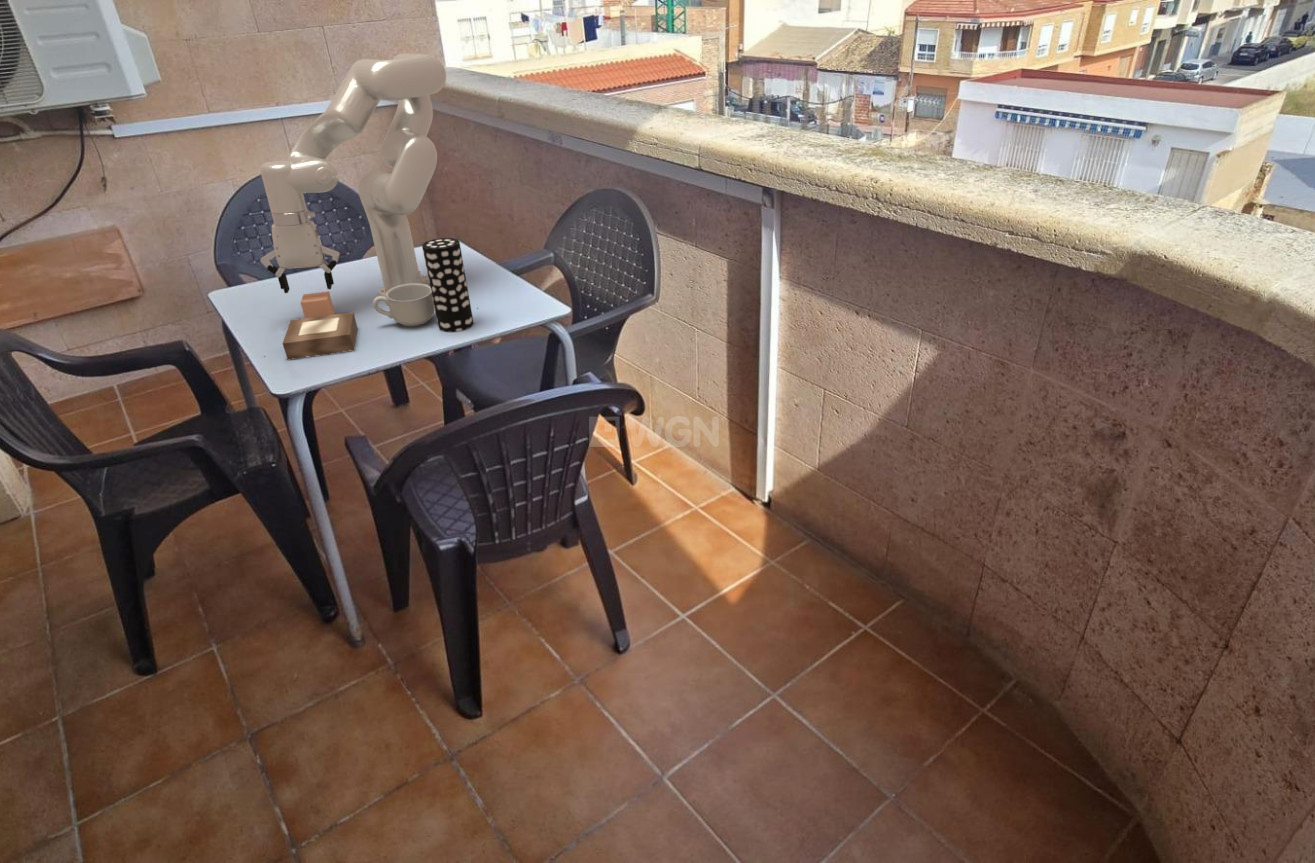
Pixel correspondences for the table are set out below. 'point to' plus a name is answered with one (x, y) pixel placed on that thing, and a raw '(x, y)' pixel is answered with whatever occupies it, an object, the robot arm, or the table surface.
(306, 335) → the plinth
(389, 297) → the teacup
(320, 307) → the cube
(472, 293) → the table surface
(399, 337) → the table surface
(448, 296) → the spotted tube
